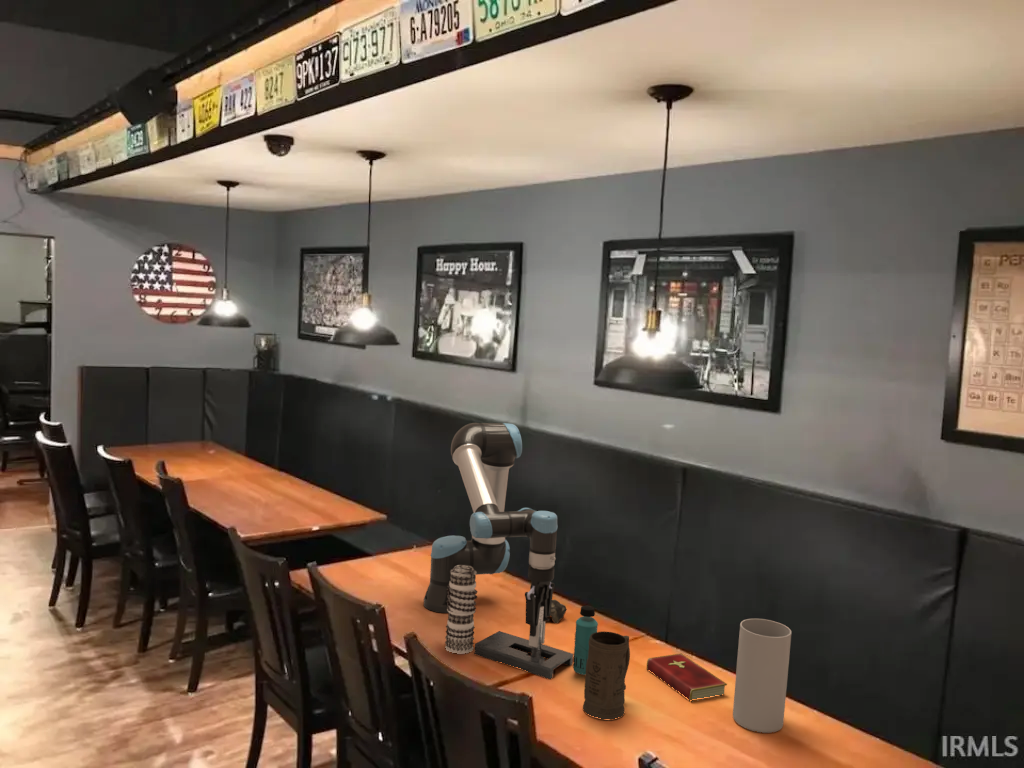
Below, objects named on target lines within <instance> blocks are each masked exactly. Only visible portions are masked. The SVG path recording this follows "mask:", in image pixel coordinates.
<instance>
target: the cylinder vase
mask: <svg viewBox="0 0 1024 768" xmlns="http://www.w3.org/2000/svg"><path fill="white" fill-rule="evenodd" d="M738 634H739V637H738V649H737V659H736V670H735V671H736V672H735V681H734V682H735V683H734V684H735V685H734V695H733V707H732V718H733V720H734V721H735V722H736V723H737V724H738V725H739V726H741V727H742V728H744V729H746V728H747V730H749V731H753V732H755V731H757V732H756V733H761V732H762V734H763V733H764V734H771V733H772V732H773V733H776V732H778V731H780V730H782V728H783V727H784V721H785V708H786V698H787V687H788V677H789V675H788V674H789V665H790V655H791V653H790V651H791V643H792V630H791V629H790V628H789V627H788V626H786V624H783V623H780V622H779V621H778V622H777V621H774V620H771V619H765V618H747V619H743V620H742V621H741V622H740V624H739V633H738Z"/></svg>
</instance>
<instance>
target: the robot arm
mask: <svg viewBox="0 0 1024 768" xmlns="http://www.w3.org/2000/svg"><path fill="white" fill-rule="evenodd" d="M522 453H523V441H522V436H521V432H520V430H519V428H518V426H516V425H515V424H513V423H508V422H507V423H505V422H488V423H487V422H472V423H471V422H470V423H468V424H465V425H464V426H462V427H461V428H460V429H459V430H458V431H456V433H455V434H454V436H453V438H452V440H451V445H450V455H451V459H452V461H453V462H454V464H455V465H456V466H458V469H459V471H460V472H459V473H460V475H461V478H462V482H463V484H464V487H465V491H466V493H467V496H468V499H469V502H470V505H471V506H470V507H471V508H472V512H473V513H472V514H471V515H470V519H469V527H470V529H469V530H470V534H471V540H467V539H466V537H465V536H461V535H447V536H441V537H439V538H437V539H435V540H434V541H433V542H432V545H431V552H430V572H429V573H430V575H429V576H430V577H429V583H428V586H427V589H426V592H425V595H424V597H423V607H424V608H425V609H427V610H429V611H432V612H435V613H444V614H448V613H449V612H448V611H447V607H448V605H447V600H448V598H447V596H448V591H447V589H448V587H447V585H448V584H449V583H450V575H451V573H450V571H451V570H452V569H453V568H454V567H455V566H457V565H469V566H471V567H473V569H474V570H475V571H476V572H477V574H476V575H493V574H500V573H502V572H504V571H505V570H506V569H507V567H508V564H509V561H510V556H511V555H510V554H511V553H510V551H511V550H510V549H511V548H510V544H509V542H508V540H507V539H506V538H520V537H523V538H524V537H526V538H528V539H529V553H528V554H529V555H528V564H529V565H528V570H527V577H528V579H529V580H530V581H531V583H530V590H529V591H525V592H524V597H525V598H524V599H525V624H527V625H529V634H528V635H529V636H528V638H529V639H528V640H529V645H530V646H533V647H536V648H537V647H538V642H539V626H540V625H538V620H539V612H540V605H543V606H544V613H543V628H542V644H543V645H545V638H546V637H545V635H546V622H549V621H550V617H551V616H550V614H551V605H552V600H553V595H554V589H555V583H554V582H553V580H554V578H555V567H554V566H555V564H556V563H555V561H556V559H557V558H556V549H557V548H556V547H557V537H558V536H557V535H558V534H557V533H558V515H557V514H556V513H555V512H554V511H548V510H538V511H537V510H535V509H532V508H531V507H522V508H520V509H519V510H516V511H515V510H514V511H512V510H511V511H505V506H506V497H507V488H508V481H509V480H508V479H509V472H510V471H509V470H510V469H511V468H512V467H513V466H515V459H519V458H520V457H521V455H522ZM449 591H450V590H449ZM449 598H450V597H449ZM449 602H450V601H449Z"/></svg>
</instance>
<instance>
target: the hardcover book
mask: <svg viewBox="0 0 1024 768" xmlns="http://www.w3.org/2000/svg"><path fill="white" fill-rule="evenodd" d="M647 669H648V670H650V671H651V672H653V673H654V674H655V675H656V676H658V677H659V678H661V679H662V680H663V681H665V682H666V683H667V684H669V685H670V686H671V687H673V688H674V689H675V690H677V691H679V692H680V693H681V694H683V695H684V696H685V697H687V698H688V699H689V700H692V699H697V698H704V697H710V696H715V695H722V694H724V695H725V690H726V689H725V688H726V687H725V686H727V685H728V683H726V682H725V681H724V680H722V679H721V678H719V677H718V676H716V675H714V674H713V673H711V672H710V671H708V670H707V669H705V668H704V667H703V666H701V665H700V664H698V663H696V662H695V661H694V660H692V659H690V658H689V657H687V656H686V655H684V654H683V653H674V654H668V655H661V656H660V655H659V656H654V657H648V658H647V661H646V670H647ZM648 670H647V671H648ZM651 672H650V673H651ZM655 675H654V676H655ZM656 676H655V677H656ZM659 678H658V679H659ZM663 681H662V682H663ZM667 684H666V685H667ZM671 687H670V688H671ZM675 690H674V691H675Z"/></svg>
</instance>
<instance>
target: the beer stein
mask: <svg viewBox="0 0 1024 768" xmlns="http://www.w3.org/2000/svg"><path fill="white" fill-rule="evenodd" d="M630 657H631V651H630V636H629V635H622V634H619V633H616V632H612V631H597V632H595V633H593V634H591V636H590V640H589V651H588V659H587V664H586V675H584V676H585V678H584V692H583V694H584V697H583V698H584V701H583V705H582V710H583V709H584V710H583V712H584V711H585V712H586V713H587V714H589V715H591V716H594V717H598V718H601V719H615V718H618V717H621V716H622V717H623V716H624V715H625V713H624V712H626V711H625V702H626V700H625V695H626V694H625V690H626V689H627V685H626V683H625V681H626V675H627V672H628V669H629V665H630V659H631V658H630ZM585 712H584V713H585ZM586 713H585V714H586ZM587 714H586V715H587ZM623 714H624V715H623ZM589 715H588V716H589ZM622 717H621V718H622Z"/></svg>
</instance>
